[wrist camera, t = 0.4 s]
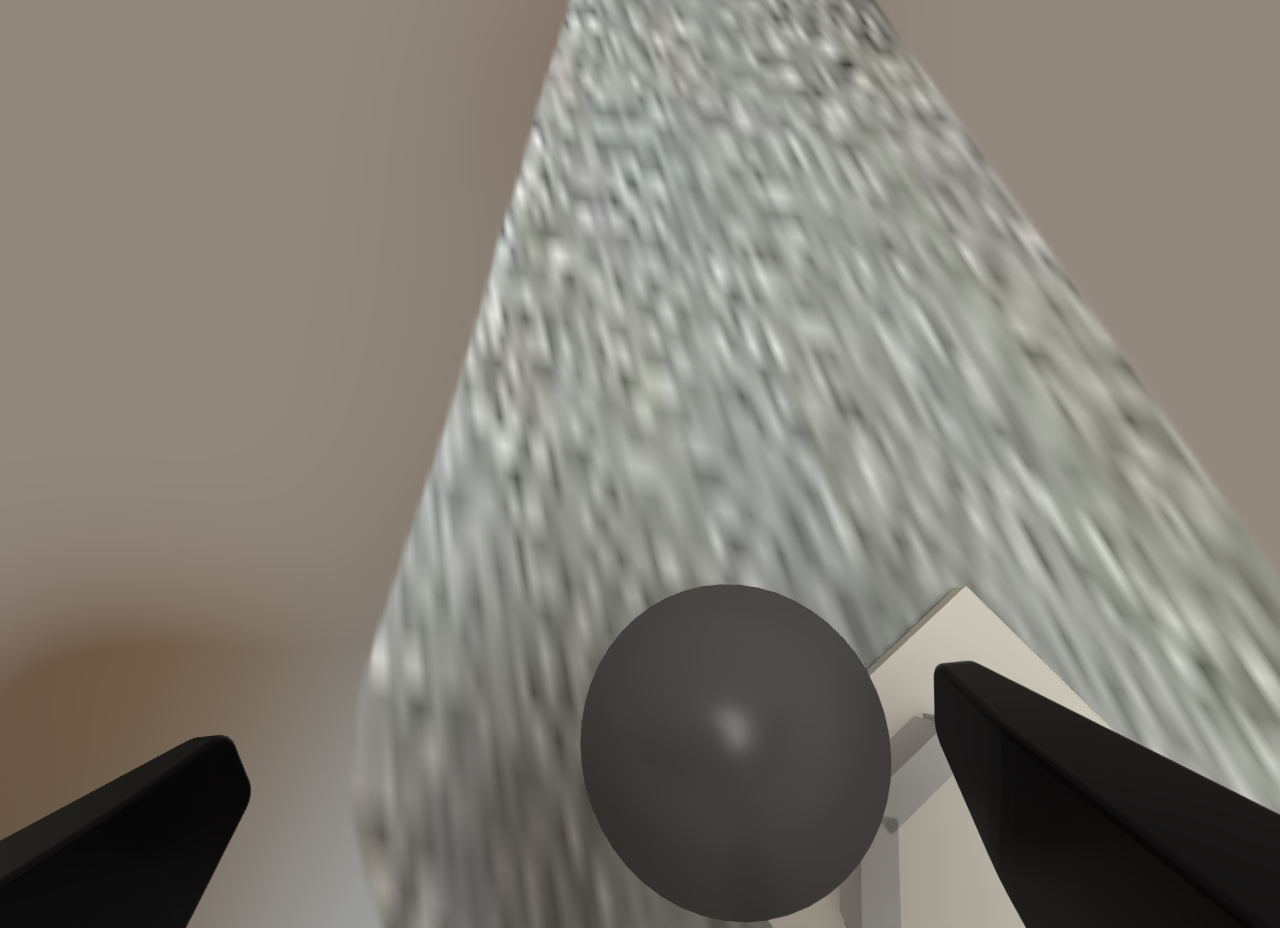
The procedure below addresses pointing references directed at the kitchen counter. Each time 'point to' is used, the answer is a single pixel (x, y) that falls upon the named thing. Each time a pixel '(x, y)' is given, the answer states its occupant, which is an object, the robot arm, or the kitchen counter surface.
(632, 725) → the dark grey capped cylinder
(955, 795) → the collar mount
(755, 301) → the kitchen counter surface
